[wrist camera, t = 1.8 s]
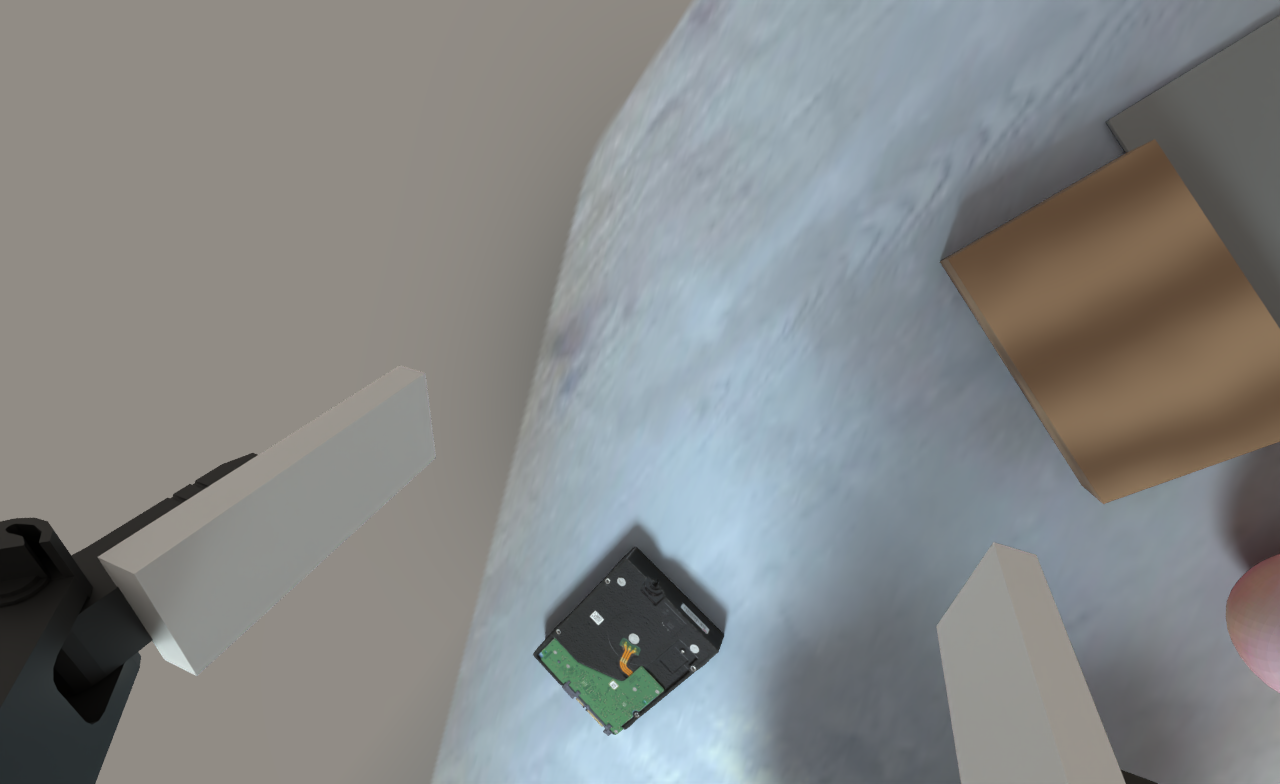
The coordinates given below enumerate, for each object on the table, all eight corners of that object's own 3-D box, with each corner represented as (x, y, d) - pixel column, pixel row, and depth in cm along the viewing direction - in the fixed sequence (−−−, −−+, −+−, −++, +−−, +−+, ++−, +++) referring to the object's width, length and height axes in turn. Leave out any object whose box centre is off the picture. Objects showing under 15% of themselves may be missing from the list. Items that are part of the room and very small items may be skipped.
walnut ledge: (1292, 407, 28) (1340, 420, 25) (1081, 485, 32) (1103, 504, 29) (1125, 153, 29) (1154, 138, 26) (939, 261, 33) (947, 259, 30)
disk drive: (636, 540, 45) (545, 638, 50) (623, 555, 43) (529, 656, 48) (728, 630, 43) (624, 721, 49) (721, 651, 41) (612, 745, 46)
